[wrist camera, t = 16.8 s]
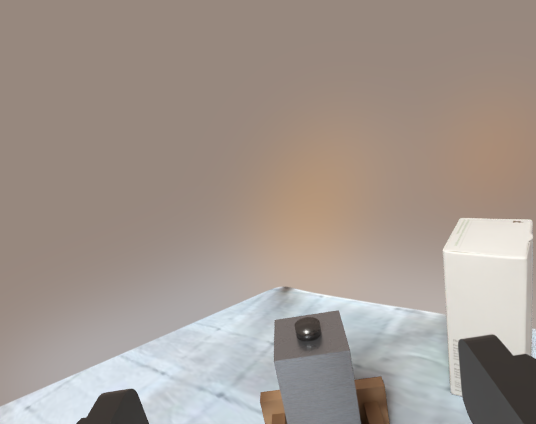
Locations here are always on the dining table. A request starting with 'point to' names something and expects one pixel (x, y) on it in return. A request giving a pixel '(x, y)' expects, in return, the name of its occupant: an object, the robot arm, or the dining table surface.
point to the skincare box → (488, 286)
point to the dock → (367, 395)
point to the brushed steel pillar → (315, 370)
